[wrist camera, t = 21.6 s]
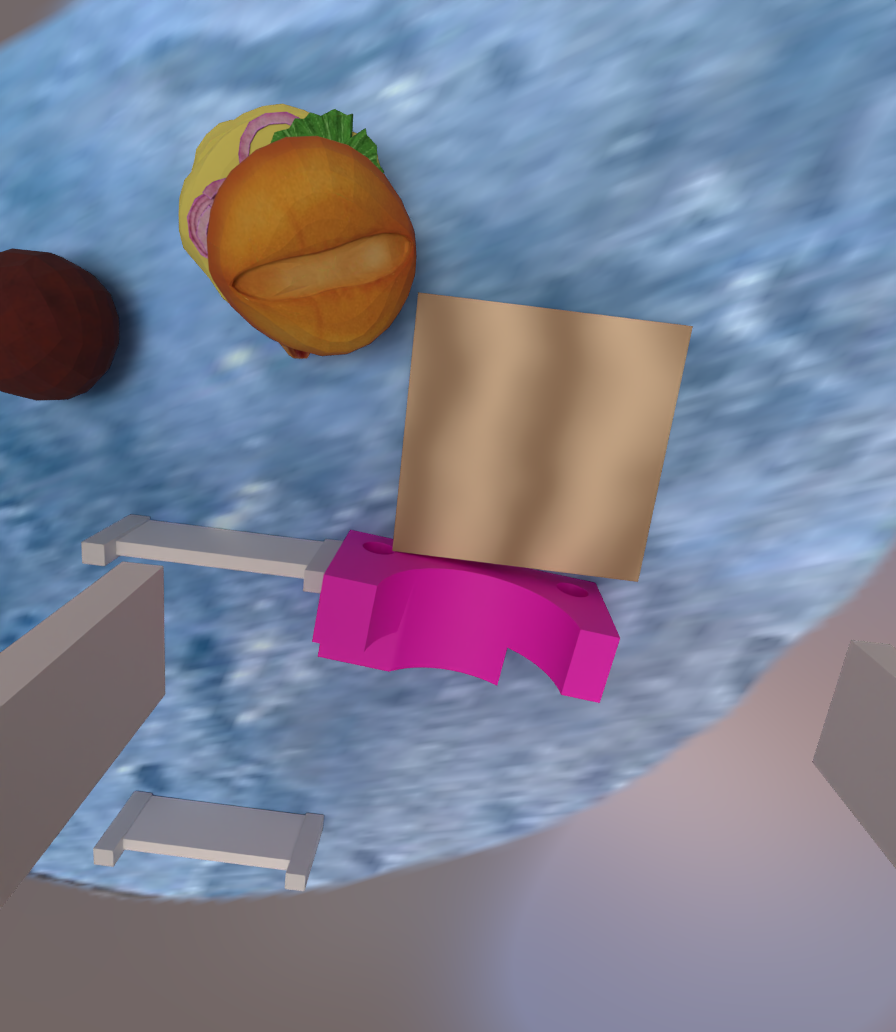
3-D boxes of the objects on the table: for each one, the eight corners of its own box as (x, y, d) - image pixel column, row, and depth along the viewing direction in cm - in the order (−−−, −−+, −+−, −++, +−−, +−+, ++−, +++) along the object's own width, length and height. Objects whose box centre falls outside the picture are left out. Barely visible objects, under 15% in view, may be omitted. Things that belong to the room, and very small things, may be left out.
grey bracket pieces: (135, 805, 46) (94, 864, 41) (130, 514, 40) (81, 541, 35) (322, 829, 46) (304, 891, 41) (345, 541, 40) (327, 572, 35)
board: (396, 539, 40) (392, 550, 38) (421, 293, 36) (418, 292, 34) (630, 569, 40) (637, 581, 38) (681, 325, 36) (692, 326, 34)
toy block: (333, 621, 42) (304, 684, 35) (350, 528, 40) (323, 574, 33) (567, 671, 43) (586, 744, 35) (594, 581, 41) (620, 638, 34)
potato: (-19, 295, 37) (-128, 290, 30) (96, 229, 36) (10, 209, 29) (57, 416, 39) (-30, 437, 32) (170, 357, 38) (104, 366, 31)
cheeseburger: (279, 45, 32) (302, 30, 24) (429, 222, 38) (489, 258, 29) (141, 210, 33) (119, 247, 25) (305, 353, 39) (330, 421, 31)
